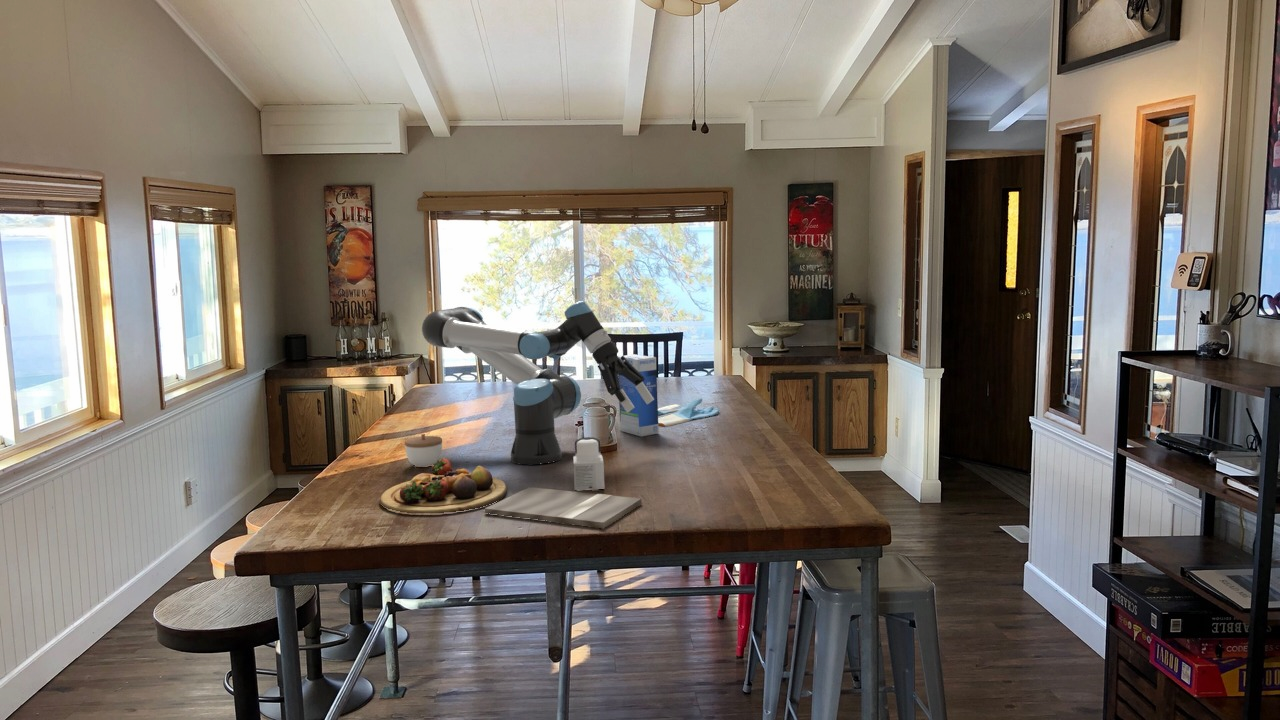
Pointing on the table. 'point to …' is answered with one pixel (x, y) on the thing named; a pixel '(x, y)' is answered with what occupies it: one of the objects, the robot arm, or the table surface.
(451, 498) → the wooden plate with food
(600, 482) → the container
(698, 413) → the rubber gloves
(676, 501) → the table surface
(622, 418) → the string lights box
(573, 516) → the board
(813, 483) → the table surface
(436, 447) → the lidded jar
